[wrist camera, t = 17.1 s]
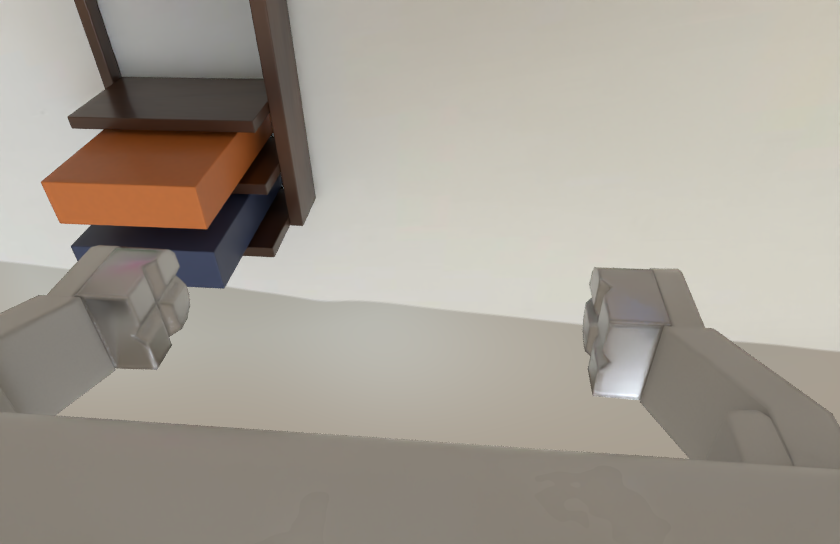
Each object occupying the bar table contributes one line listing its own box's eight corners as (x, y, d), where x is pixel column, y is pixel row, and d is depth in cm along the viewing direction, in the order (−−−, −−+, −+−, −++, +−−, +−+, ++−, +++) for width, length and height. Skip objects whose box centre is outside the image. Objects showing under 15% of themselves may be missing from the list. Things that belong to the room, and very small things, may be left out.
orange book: (146, 93, 43) (39, 181, 33) (266, 95, 43) (195, 187, 32) (157, 129, 45) (59, 223, 35) (273, 132, 44) (207, 229, 34)
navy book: (163, 148, 46) (69, 246, 36) (277, 151, 45) (214, 252, 35) (173, 180, 48) (86, 282, 38) (283, 184, 47) (224, 288, 37)
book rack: (26, -169, 34) (-78, -163, 28) (260, -175, 33) (206, -169, 27) (150, 192, 49) (100, 249, 43) (315, 198, 48) (288, 258, 41)
